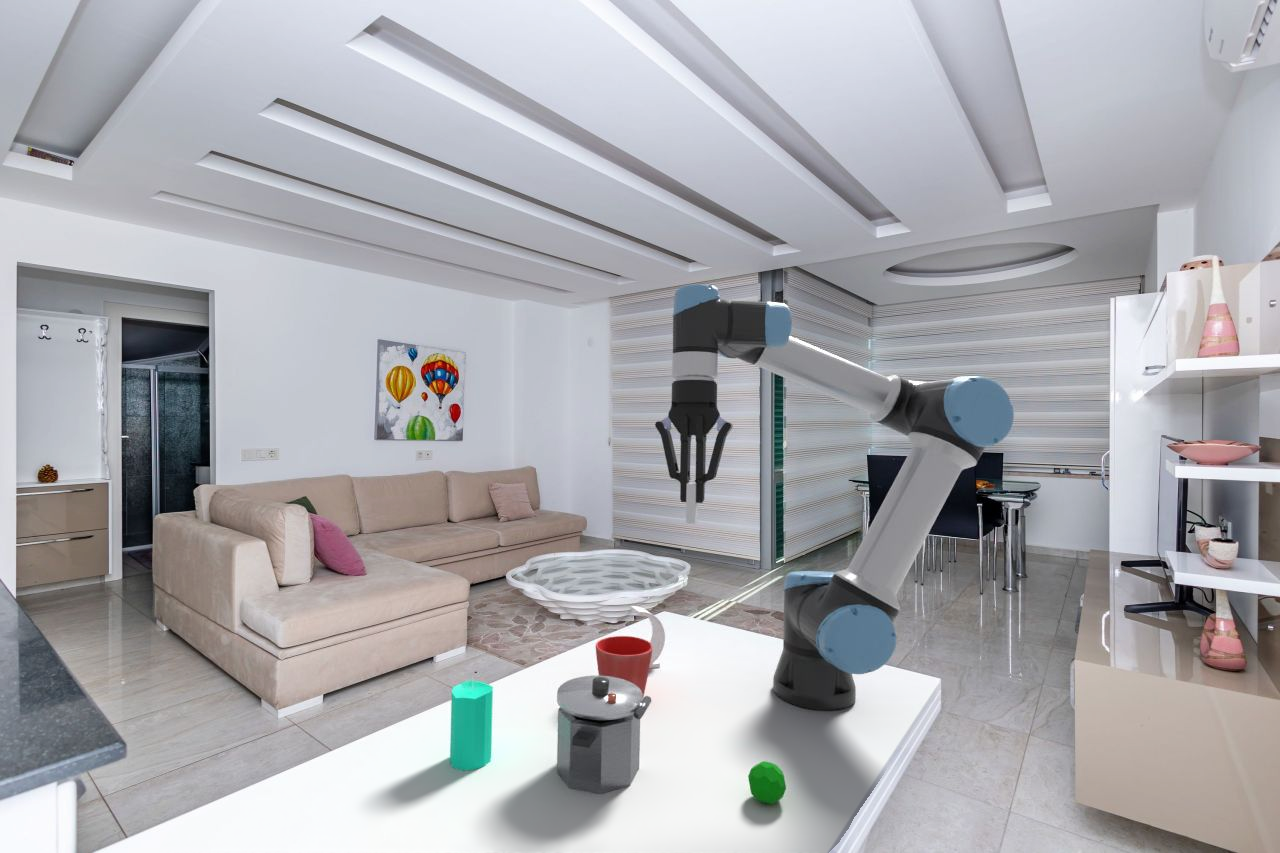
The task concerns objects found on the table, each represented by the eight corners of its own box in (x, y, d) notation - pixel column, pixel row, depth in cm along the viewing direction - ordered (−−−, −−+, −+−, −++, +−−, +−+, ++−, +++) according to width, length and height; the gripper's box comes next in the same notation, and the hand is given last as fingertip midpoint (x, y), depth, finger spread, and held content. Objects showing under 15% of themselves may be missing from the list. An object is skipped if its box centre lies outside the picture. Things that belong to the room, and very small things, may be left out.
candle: (447, 753, 94) (449, 673, 94) (487, 746, 97) (489, 668, 97) (452, 773, 89) (454, 689, 89) (495, 765, 91) (496, 683, 91)
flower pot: (653, 686, 121) (654, 636, 121) (649, 712, 110) (650, 656, 110) (599, 683, 122) (600, 633, 122) (589, 708, 111) (590, 653, 111)
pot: (648, 751, 96) (649, 692, 96) (618, 806, 82) (620, 737, 82) (581, 740, 99) (582, 683, 99) (541, 791, 85) (542, 725, 85)
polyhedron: (793, 804, 83) (794, 768, 83) (766, 815, 81) (767, 778, 81) (766, 785, 87) (767, 751, 88) (740, 796, 85) (740, 761, 85)
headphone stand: (629, 662, 133) (630, 606, 133) (655, 659, 135) (656, 603, 135) (638, 670, 129) (639, 612, 129) (664, 666, 131) (665, 609, 131)
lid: (657, 694, 95) (658, 673, 95) (634, 732, 83) (636, 707, 83) (575, 679, 98) (576, 658, 98) (542, 713, 86) (543, 689, 86)
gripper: (736, 382, 106) (734, 521, 105) (661, 382, 109) (659, 517, 109) (730, 378, 98) (728, 528, 98) (650, 378, 102) (648, 523, 102)
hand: (691, 522), depth 104 cm, fingers closed
